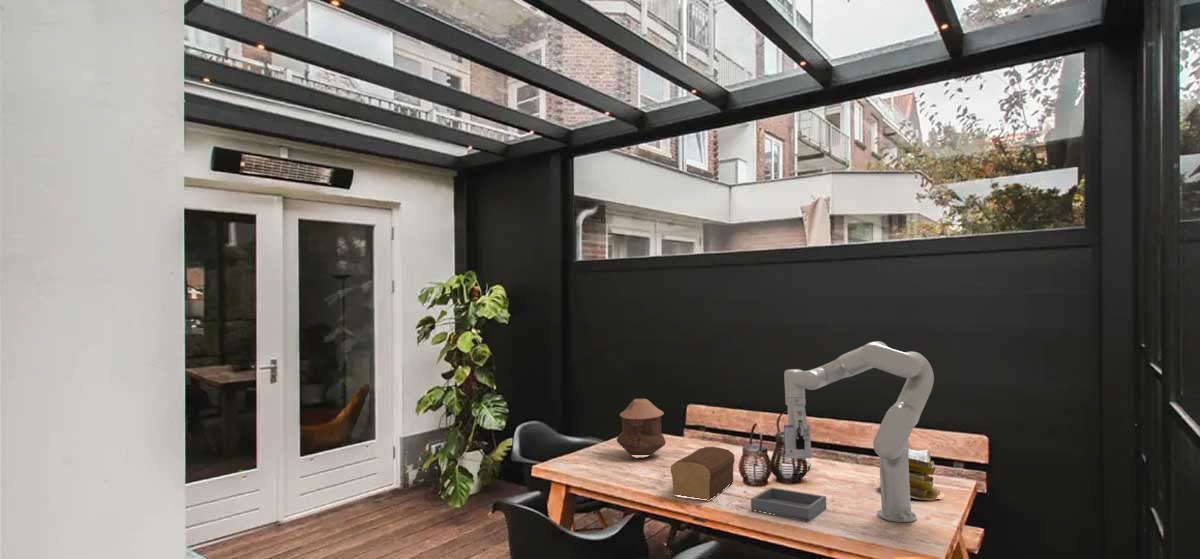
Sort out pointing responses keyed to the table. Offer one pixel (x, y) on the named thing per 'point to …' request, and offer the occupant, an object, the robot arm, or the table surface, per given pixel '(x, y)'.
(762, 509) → the tray
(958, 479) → the table surface
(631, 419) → the pottery vessel
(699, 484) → the bread
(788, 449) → the ink cartridge box
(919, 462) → the stacked food on plate
